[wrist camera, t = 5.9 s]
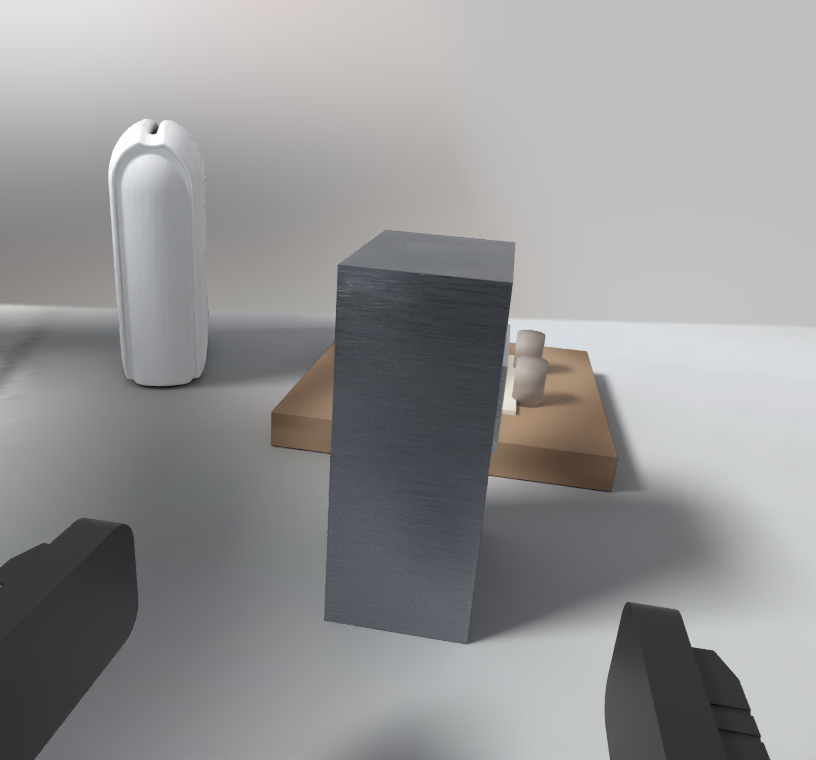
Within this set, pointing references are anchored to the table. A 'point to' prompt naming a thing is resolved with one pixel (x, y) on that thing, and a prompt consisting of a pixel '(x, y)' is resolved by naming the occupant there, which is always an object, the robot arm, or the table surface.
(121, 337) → the photo printer
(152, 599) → the table surface
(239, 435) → the table surface
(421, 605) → the block
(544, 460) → the pin tray
